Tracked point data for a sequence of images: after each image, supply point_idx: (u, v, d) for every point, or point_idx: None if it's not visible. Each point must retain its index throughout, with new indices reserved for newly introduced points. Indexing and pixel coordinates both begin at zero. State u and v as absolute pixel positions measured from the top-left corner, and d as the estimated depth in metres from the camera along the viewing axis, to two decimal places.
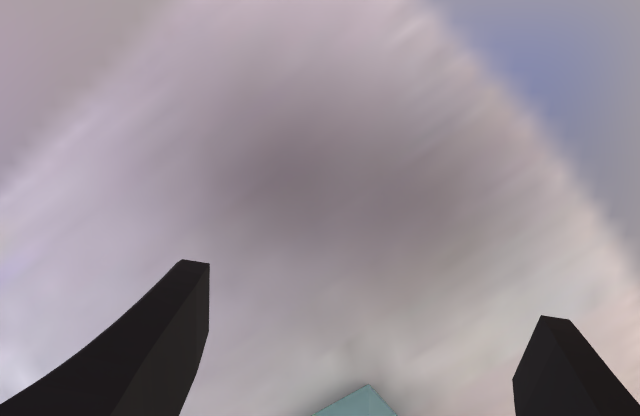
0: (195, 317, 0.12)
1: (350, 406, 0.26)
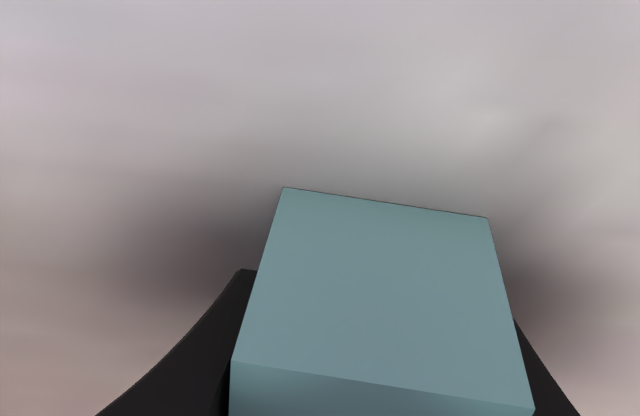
0: None
1: (443, 234, 0.12)
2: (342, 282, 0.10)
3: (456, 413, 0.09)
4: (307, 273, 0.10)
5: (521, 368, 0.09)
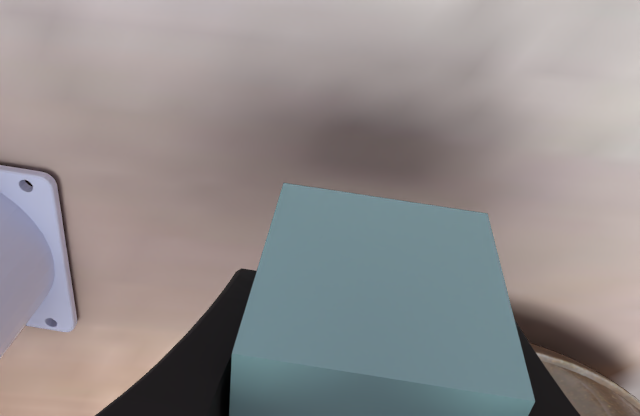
0: None
1: (443, 229, 0.12)
2: (342, 277, 0.10)
3: (456, 406, 0.09)
4: (308, 267, 0.10)
5: (522, 362, 0.09)
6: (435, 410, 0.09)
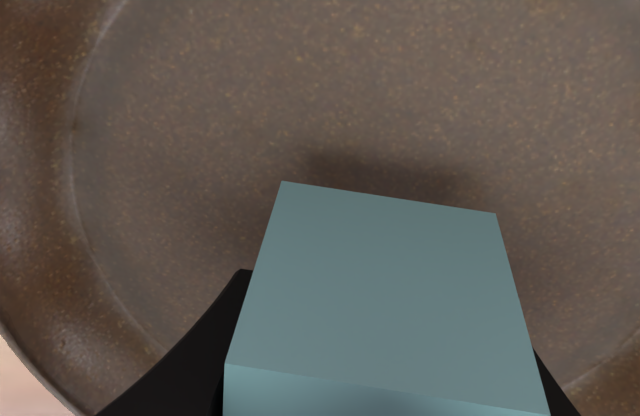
0: None
1: (449, 230, 0.11)
2: (343, 280, 0.10)
3: None
4: (307, 270, 0.10)
5: (535, 372, 0.09)
6: None
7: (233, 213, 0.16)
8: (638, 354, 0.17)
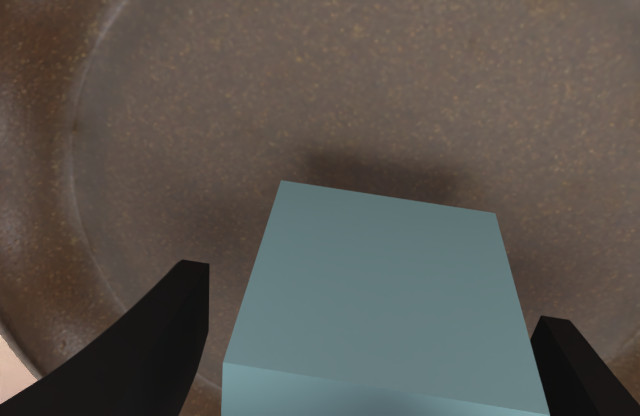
0: (195, 317, 0.12)
1: (449, 229, 0.11)
2: (342, 279, 0.10)
3: None
4: (306, 269, 0.10)
5: (535, 372, 0.09)
6: None
7: (233, 214, 0.16)
8: (639, 355, 0.17)
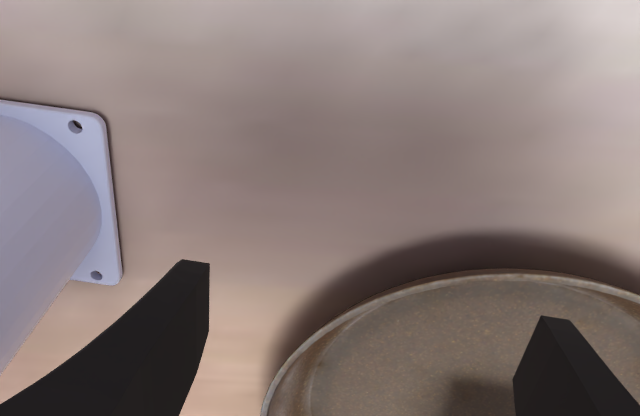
0: (195, 317, 0.12)
1: None
2: None
3: None
4: None
5: None
6: None
7: (403, 406, 0.28)
8: None
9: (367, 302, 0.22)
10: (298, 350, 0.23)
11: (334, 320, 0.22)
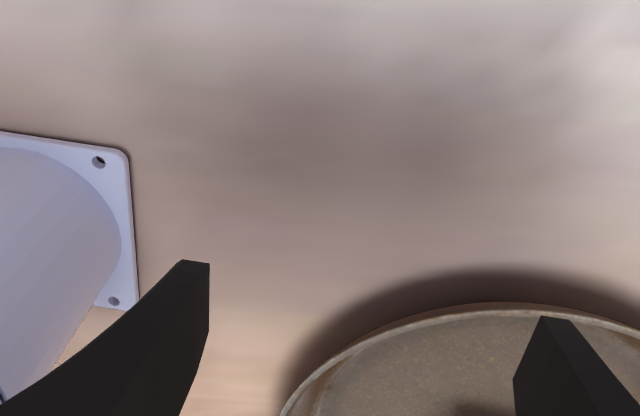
0: (195, 317, 0.12)
1: None
2: None
3: None
4: None
5: None
6: None
7: None
8: None
9: (378, 334, 0.22)
10: (310, 377, 0.24)
11: (346, 350, 0.23)
